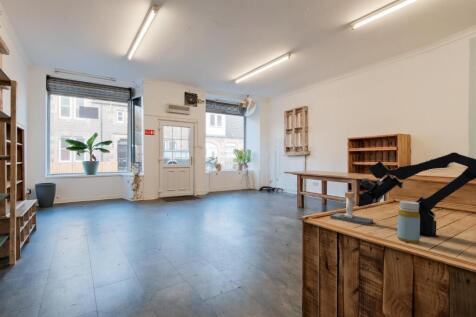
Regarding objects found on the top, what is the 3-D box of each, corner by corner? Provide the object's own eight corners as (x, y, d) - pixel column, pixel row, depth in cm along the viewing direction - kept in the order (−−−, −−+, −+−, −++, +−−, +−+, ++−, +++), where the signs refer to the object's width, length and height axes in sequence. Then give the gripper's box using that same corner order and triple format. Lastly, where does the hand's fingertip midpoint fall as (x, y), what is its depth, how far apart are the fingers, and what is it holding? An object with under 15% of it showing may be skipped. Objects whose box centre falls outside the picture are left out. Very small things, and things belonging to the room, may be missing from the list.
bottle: (423, 244, 89) (424, 204, 89) (402, 242, 91) (403, 203, 91) (413, 238, 96) (414, 201, 96) (394, 236, 98) (395, 200, 98)
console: (373, 222, 119) (373, 219, 119) (368, 225, 113) (368, 222, 113) (336, 215, 132) (336, 212, 132) (330, 218, 125) (330, 215, 125)
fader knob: (355, 216, 123) (355, 192, 123) (351, 218, 120) (352, 193, 120) (346, 215, 126) (347, 191, 126) (343, 216, 122) (344, 192, 122)
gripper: (376, 172, 123) (353, 191, 131) (365, 174, 109) (340, 195, 117) (393, 190, 118) (368, 208, 125) (385, 193, 104) (357, 214, 112)
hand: (358, 206), depth 120 cm, fingers closed
